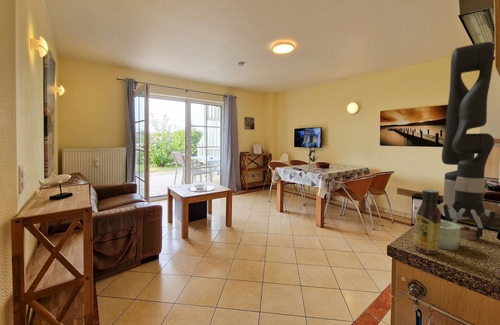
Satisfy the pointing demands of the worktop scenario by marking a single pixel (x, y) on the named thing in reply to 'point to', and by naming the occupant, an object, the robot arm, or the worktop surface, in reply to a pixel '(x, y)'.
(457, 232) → the jar
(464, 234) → the lid
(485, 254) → the worktop surface
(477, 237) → the robot arm
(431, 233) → the sauce bottle
